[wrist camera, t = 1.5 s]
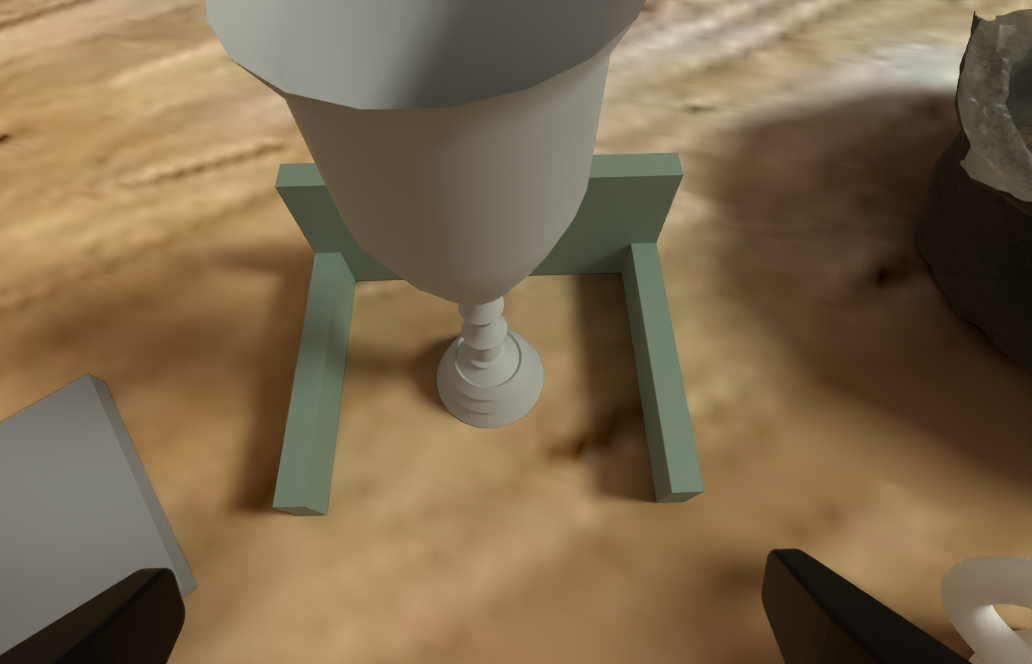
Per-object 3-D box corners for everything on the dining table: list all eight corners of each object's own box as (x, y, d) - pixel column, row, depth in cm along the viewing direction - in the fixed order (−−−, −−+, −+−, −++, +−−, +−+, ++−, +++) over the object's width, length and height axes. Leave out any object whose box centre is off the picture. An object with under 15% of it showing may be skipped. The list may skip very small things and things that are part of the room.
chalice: (479, 483, 22) (379, 199, 6) (384, 376, 24) (123, -43, 8) (596, 374, 24) (750, -47, 8) (499, 285, 27) (470, -185, 10)
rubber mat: (197, 587, 20) (182, 586, 19) (-117, 811, 17) (-151, 823, 16) (104, 380, 24) (88, 373, 23) (-166, 535, 21) (-196, 533, 20)
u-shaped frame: (684, 501, 22) (752, 465, 16) (297, 516, 22) (207, 485, 15) (641, 252, 27) (677, 152, 21) (334, 262, 27) (280, 164, 21)
